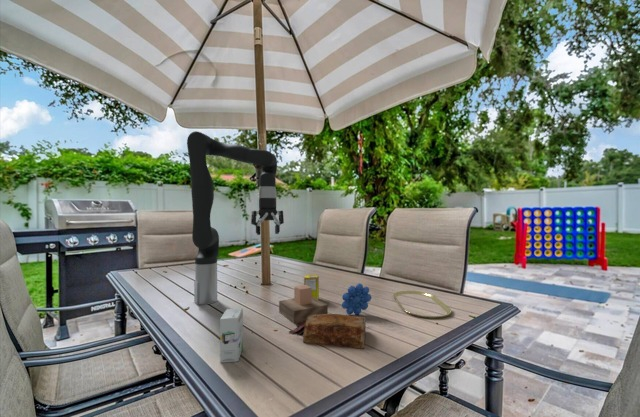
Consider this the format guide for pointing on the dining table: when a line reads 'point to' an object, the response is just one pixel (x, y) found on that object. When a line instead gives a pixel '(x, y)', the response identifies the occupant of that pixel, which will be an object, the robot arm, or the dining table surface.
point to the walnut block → (301, 309)
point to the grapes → (356, 299)
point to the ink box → (231, 335)
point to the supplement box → (313, 284)
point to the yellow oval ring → (427, 296)
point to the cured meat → (333, 330)
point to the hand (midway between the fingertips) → (267, 234)
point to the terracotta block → (303, 295)
